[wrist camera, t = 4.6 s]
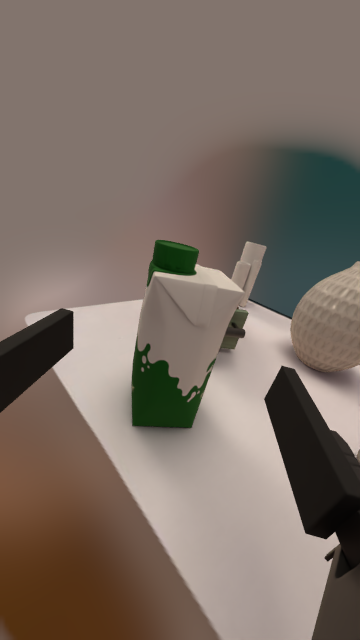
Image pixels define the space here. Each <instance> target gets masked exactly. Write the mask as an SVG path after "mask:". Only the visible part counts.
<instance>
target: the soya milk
mask: <svg viewBox="0 0 360 640" xmlns="http://www.w3.org/2000/svg"><path fill="white" fill-rule="evenodd" d="M198 253H199V250H198V249H196V248H194V247H191V246H188V245H184V244H180V243H175V242H171V241H165V240H156V242H155V247H154V253H153V260H152V261H151V263H150V266H149V275H148V281H147V286H146V290H145V295H144V299H143V304H142V309H141V313H140V319H139V326H138V332H137V339H136V346H135V353H134V359H133V371H132V426H154V427H184V428H191V427H192V424H193V421H194V419H195V416H196V413H197V410H198V407H199V405H200V402H201V399H202V396H203V393H204V390H205V388H206V385H207V382H208V379H209V377H210V374H211V371H212V368H213V365H214V363H215V360H216V357H217V354H218V352H219V349H220V346H221V343H222V341H223V338H224V335H225V332H226V330H227V327H228V325H229V322H230V320H231V318H232V316H233V314H234V312H235V310H236V308H237V307H238V305H239V303H240V301H241V299H242V297H243V295H244V294H245V292H244V291H243V290H242V289H241V288H240V287H238V286H237V285H236V284H235V283H234V282H233V281H232V280H230V279H229V278H228V277H227V276H226V275H225V274H223V273H222V272H221V271H220V270H215V269H210V268H205V267H201V266H200V265H198V264H196V262H197V258H198Z"/></svg>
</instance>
